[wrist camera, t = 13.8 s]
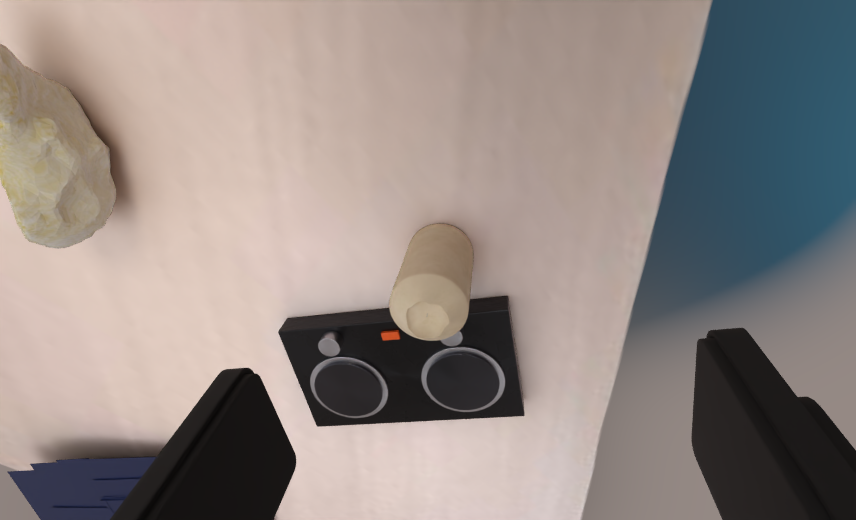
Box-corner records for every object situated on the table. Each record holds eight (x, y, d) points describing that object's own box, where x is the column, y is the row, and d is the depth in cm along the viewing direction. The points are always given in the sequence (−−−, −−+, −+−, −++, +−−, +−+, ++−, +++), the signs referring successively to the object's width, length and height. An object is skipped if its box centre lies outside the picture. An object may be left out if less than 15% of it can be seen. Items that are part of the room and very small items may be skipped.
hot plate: (286, 318, 46) (272, 339, 43) (507, 295, 42) (508, 317, 39) (323, 411, 51) (312, 436, 48) (523, 399, 47) (525, 426, 44)
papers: (17, 441, 59) (-7, 466, 55) (261, 433, 58) (251, 458, 54) (93, 561, 70) (76, 587, 67) (298, 555, 69) (291, 582, 66)
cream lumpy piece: (130, 238, 47) (145, 224, 34) (36, 258, 42) (15, 250, 30) (78, 78, 45) (74, 1, 32) (-27, 83, 40) (-77, -3, 28)
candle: (406, 222, 40) (380, 285, 31) (472, 222, 39) (465, 285, 30) (411, 280, 42) (389, 353, 34) (474, 281, 42) (468, 355, 33)
